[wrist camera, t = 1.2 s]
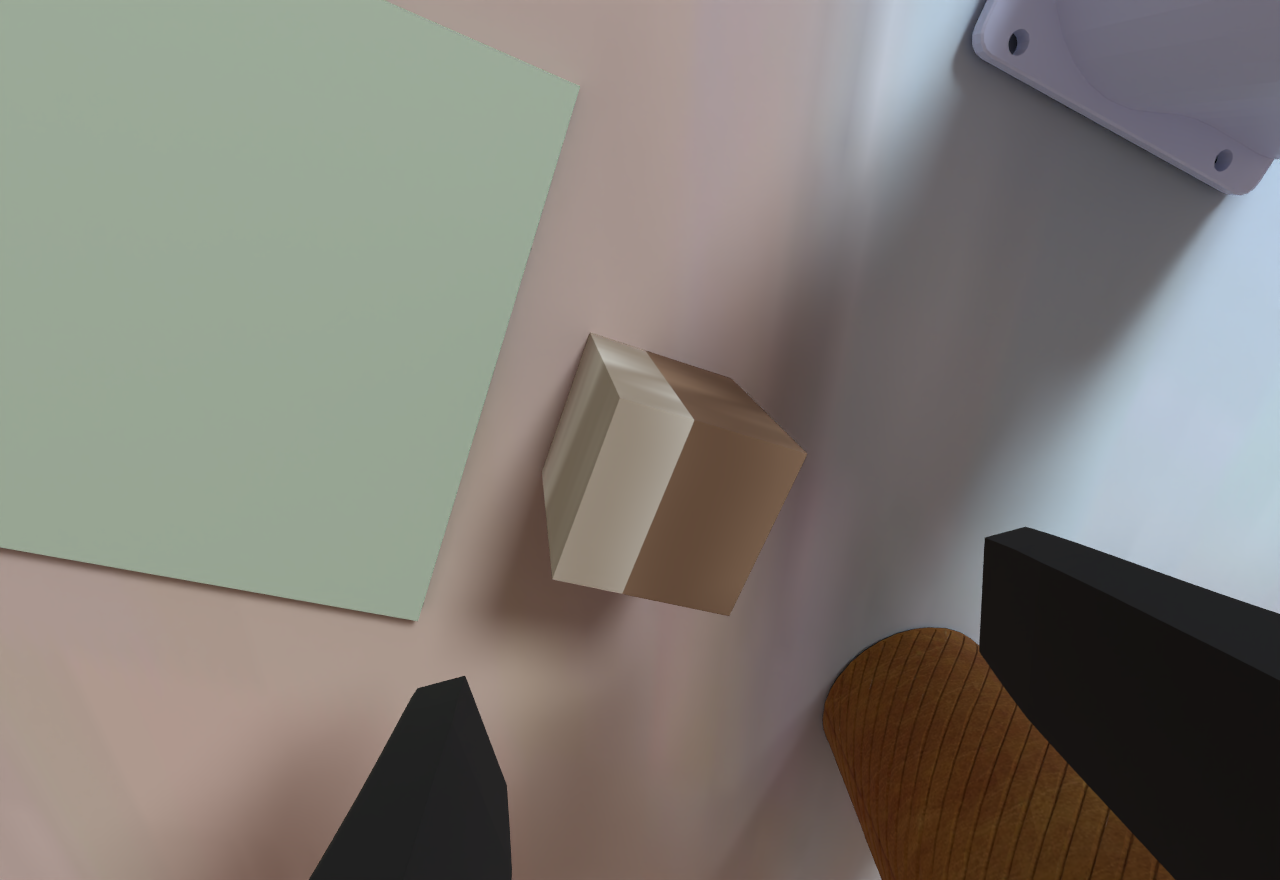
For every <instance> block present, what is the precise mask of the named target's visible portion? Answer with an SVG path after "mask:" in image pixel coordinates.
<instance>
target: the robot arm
mask: <svg viewBox="0 0 1280 880" xmlns="http://www.w3.org/2000/svg"><path fill="white" fill-rule="evenodd" d="M1013 33H1014V34H1015V36H1016V37H1017V43H1018V44H1017V48H1016V51H1015V52H1014V53H1013V55H1012V54H1011V52H1010V51H1009V47H1008V43H1009V39H1010V37H1011V35H1012V34H1013ZM972 46H973V48H974V51H975V53H976V54H977V55H978V56H979V57H980V58H981V59H983V60H984V61H986V62H988V63H990V64H992V65H993V66H995V67H997V68H999V69H1001V70H1002V71H1004V72H1006V73H1008V74H1010V75H1011V76H1013V77H1015V78H1017V79H1019V80H1020V81H1022V82H1024V83H1026V84H1028V85H1029V86H1031V87H1033V88H1035V89H1037V90H1038V91H1040V92H1042V93H1044V94H1046V95H1047V96H1049V97H1051V98H1053V99H1055V100H1056V101H1058V102H1060V103H1062V104H1064V105H1065V106H1067V107H1069V108H1071V109H1073V110H1074V111H1076V112H1078V113H1080V114H1082V115H1083V116H1085V117H1087V118H1089V119H1091V120H1092V121H1094V122H1096V123H1098V124H1100V125H1101V126H1103V127H1105V128H1107V129H1109V130H1111V131H1112V132H1114V133H1116V134H1118V135H1120V136H1121V137H1123V138H1125V139H1127V140H1129V141H1130V142H1132V143H1134V144H1136V145H1138V146H1139V147H1141V148H1143V149H1145V150H1147V151H1148V152H1150V153H1152V154H1154V155H1156V156H1157V157H1159V158H1161V159H1163V160H1165V161H1166V162H1168V163H1170V164H1172V165H1174V166H1175V167H1177V168H1179V169H1181V170H1183V171H1184V172H1186V173H1188V174H1190V175H1192V176H1193V177H1195V178H1197V179H1199V180H1201V181H1202V182H1204V183H1206V184H1208V185H1210V186H1211V187H1213V188H1215V189H1217V190H1219V191H1220V192H1222V193H1224V194H1229V195H1243V194H1247V193H1249V192H1250V191H1251V190H1253V189H1254V188H1255V187H1256V186H1257V185H1258V183H1259V182H1260V181H1261V179H1262V178H1263V176H1264V174H1265V173H1266V171H1267V170H1268V168H1269V166H1270V165H1271V163H1272V162H1273V160H1274V159H1280V0H987V1H986V4H985V6H984V8H983V10H982V12H981V14H980V16H979V19H978V21H977V23H976V25H975V28H974V31H973V35H972ZM1217 155H1218V159H1217V162H1216V164H1215V166H1214V162H1215V159H1216V157H1217ZM979 652H980V654H981V655H982V656H983V658H984V659H985V661H986V662H987V664H988V665H989V667H990V668H991V669H992V671H993V672H994V674H995V675H996V677H997V678H998V679H999V681H1000V682H1001V684H1002V685H1003V687H1004V688H1005V689H1006V691H1007V692H1008V693H1009V695H1010V696H1011V697H1012V699H1013V700H1014V701H1015V703H1016V704H1017V705H1018V707H1019V708H1020V709H1021V711H1022V712H1023V713H1024V715H1025V716H1026V717H1027V719H1028V720H1029V721H1030V722H1031V723H1032V724H1033V725H1034V726H1035V728H1036V729H1037V730H1038V731H1039V732H1040V733H1041V734H1042V735H1043V737H1044V738H1045V739H1046V740H1047V741H1048V742H1049V743H1050V744H1051V745H1052V746H1053V748H1054V749H1055V750H1056V751H1057V752H1058V753H1059V754H1060V755H1061V756H1062V757H1063V759H1064V760H1065V761H1066V762H1067V763H1068V764H1069V765H1070V766H1071V767H1072V768H1073V770H1074V771H1075V772H1076V773H1077V774H1078V775H1079V776H1080V777H1081V778H1082V779H1083V780H1084V781H1085V783H1086V784H1087V785H1088V786H1089V787H1090V788H1091V789H1092V790H1093V791H1094V792H1095V793H1096V794H1097V796H1098V797H1099V798H1100V799H1101V800H1102V801H1103V802H1104V803H1105V804H1106V805H1107V806H1108V807H1109V808H1110V810H1111V811H1112V812H1113V813H1114V814H1115V815H1116V816H1117V817H1118V818H1119V819H1120V820H1121V821H1122V823H1123V824H1124V825H1125V826H1126V827H1127V828H1128V829H1129V830H1130V831H1131V832H1132V833H1133V834H1134V836H1135V837H1136V838H1137V839H1138V840H1139V841H1140V842H1141V843H1142V844H1143V845H1144V846H1145V847H1146V849H1147V850H1148V851H1149V852H1150V853H1151V854H1152V855H1153V856H1154V857H1155V858H1156V859H1157V860H1158V862H1159V863H1160V864H1161V865H1162V866H1163V867H1164V868H1165V869H1166V870H1167V871H1168V872H1169V873H1170V875H1171V876H1172V877H1173V878H1174V879H1175V880H1280V614H1278V613H1275V612H1272V611H1269V610H1266V609H1263V608H1260V607H1257V606H1254V605H1251V604H1248V603H1245V602H1242V601H1239V600H1237V599H1234V598H1231V597H1228V596H1225V595H1222V594H1219V593H1216V592H1213V591H1210V590H1208V589H1205V588H1202V587H1199V586H1196V585H1193V584H1191V583H1188V582H1185V581H1182V580H1179V579H1176V578H1174V577H1171V576H1168V575H1165V574H1162V573H1160V572H1157V571H1154V570H1151V569H1148V568H1146V567H1143V566H1140V565H1137V564H1134V563H1132V562H1129V561H1126V560H1123V559H1121V558H1118V557H1115V556H1112V555H1109V554H1107V553H1104V552H1101V551H1098V550H1095V549H1092V548H1090V547H1087V546H1084V545H1081V544H1078V543H1075V542H1072V541H1069V540H1066V539H1063V538H1060V537H1057V536H1054V535H1051V534H1048V533H1045V532H1041V531H1038V530H1035V529H1031V528H1028V527H1023V528H1019V529H1016V530H1012V531H1008V532H1004V533H1001V534H997V535H993V536H989V537H986V538H985V544H984V564H983V584H982V604H981V624H980V644H979ZM511 877H512V864H511V845H510V827H509V812H508V798H507V785H506V782H505V780H504V777H503V774H502V772H501V769H500V766H499V764H498V761H497V759H496V756H495V753H494V751H493V748H492V745H491V743H490V740H489V737H488V735H487V732H486V729H485V727H484V724H483V722H482V719H481V716H480V714H479V711H478V708H477V706H476V703H475V700H474V698H473V695H472V693H471V690H470V687H469V685H468V682H467V679H466V677H465V676H462V677H459V678H455V679H451V680H447V681H443V682H440V683H436V684H432V685H428V686H425V687H421V688H418V689H417V690H416V692H415V693H414V695H413V696H412V698H411V699H410V701H409V703H408V705H407V707H406V708H405V710H404V712H403V714H402V716H401V718H400V720H399V721H398V723H397V725H396V727H395V729H394V731H393V733H392V734H391V736H390V738H389V740H388V742H387V744H386V746H385V747H384V749H383V751H382V753H381V755H380V757H379V758H378V760H377V762H376V764H375V766H374V768H373V769H372V771H371V773H370V775H369V777H368V778H367V780H366V782H365V784H364V786H363V787H362V789H361V791H360V793H359V795H358V796H357V798H356V800H355V802H354V803H353V805H352V807H351V809H350V810H349V812H348V814H347V815H346V817H345V819H344V821H343V822H342V824H341V826H340V828H339V829H338V831H337V833H336V834H335V836H334V838H333V840H332V841H331V843H330V845H329V847H328V848H327V850H326V852H325V853H324V855H323V857H322V859H321V860H320V862H319V864H318V865H317V867H316V869H315V870H314V872H313V874H312V875H311V877H310V879H309V880H511Z"/></svg>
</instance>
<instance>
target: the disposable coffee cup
mask: <svg viewBox="0 0 1280 880" xmlns="http://www.w3.org/2000/svg"><path fill="white" fill-rule="evenodd" d="M823 728H824V732H825V735H826V737H827V740H828V742H829V744H830V747H831V749H832V752H833V754H834V757H835V760H836V762H837V765H838V767H839V770H840V773H841V775H842V777H843V780H844V783H845V785H846V788H847V790H848V793H849V796H850V798H851V801H852V803H853V806H854V809H855V811H856V814H857V816H858V819H859V822H860V824H861V827H862V829H863V832H864V835H865V838H866V841H867V843H868V846H869V848H870V851H871V853H872V856H873V859H874V861H875V864H876V866H877V869H878V871H879V874H880V876H881V879H882V880H1175V879H1174V878H1173V877H1172V876H1171V875H1170V873H1169V872H1168V871H1167V870H1166V869H1165V868H1164V867H1163V866H1162V865H1161V864H1160V863H1159V862H1158V860H1157V859H1156V858H1155V857H1154V856H1153V855H1152V854H1151V853H1150V852H1149V851H1148V850H1147V849H1146V847H1145V846H1144V845H1143V844H1142V843H1141V842H1140V841H1139V840H1138V839H1137V838H1136V837H1135V836H1134V834H1133V833H1132V832H1131V831H1130V830H1129V829H1128V828H1127V827H1126V826H1125V825H1124V824H1123V823H1122V821H1121V820H1120V819H1119V818H1118V817H1117V816H1116V815H1115V814H1114V813H1113V812H1112V811H1111V810H1110V808H1109V807H1108V806H1107V805H1106V804H1105V803H1104V802H1103V801H1102V800H1101V799H1100V798H1099V797H1098V796H1097V794H1096V793H1095V792H1094V791H1093V790H1092V789H1091V788H1090V787H1089V786H1088V785H1087V784H1086V783H1085V781H1084V780H1083V779H1082V778H1081V777H1080V776H1079V775H1078V774H1077V773H1076V772H1075V771H1074V770H1073V768H1072V767H1071V766H1070V765H1069V764H1068V763H1067V762H1066V761H1065V760H1064V759H1063V757H1062V756H1061V755H1060V754H1059V753H1058V752H1057V751H1056V750H1055V749H1054V748H1053V746H1052V745H1051V744H1050V743H1049V742H1048V741H1047V740H1046V739H1045V738H1044V737H1043V735H1042V734H1041V733H1040V732H1039V731H1038V730H1037V729H1036V728H1035V726H1034V725H1033V724H1032V723H1031V722H1030V721H1029V720H1028V719H1027V717H1026V716H1025V715H1024V713H1023V712H1022V711H1021V709H1020V708H1019V707H1018V705H1017V704H1016V703H1015V701H1014V700H1013V699H1012V697H1011V696H1010V695H1009V693H1008V692H1007V691H1006V689H1005V688H1004V687H1003V685H1002V684H1001V682H1000V681H999V679H998V678H997V677H996V675H995V674H994V672H993V671H992V669H991V668H990V667H989V665H988V664H987V662H986V661H985V659H984V658H983V656H982V655H981V654H980V652H979V645H977V644H976V643H975V642H974V641H973V640H972V639H971V638H969V637H967V636H966V635H964V634H962V633H960V632H957V631H954V630H950V629H947V628H919V629H913V630H909V631H905V632H902V633H898V634H895V635H893V636H891V637H889V638H886V639H884V640H882V641H880V642H878V643H877V644H875V645H873V646H872V647H870V648H868V649H867V650H865V651H864V652H863V653H862V654H860V655H859V656H858V657H857V658H856V659H854V660H853V661H852V662H851V663H850V664H849V665H848V666H847V668H846V669H845V670H844V671H843V672H842V673H841V675H840V676H839V677H838V678H837V680H836V681H835V683H834V685H833V686H832V688H831V689H830V692H829V694H828V697H827V699H826V702H825V707H824V714H823Z"/></svg>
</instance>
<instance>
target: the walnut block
mask: <svg viewBox="0 0 1280 880" xmlns="http://www.w3.org/2000/svg"><path fill="white" fill-rule="evenodd" d="M806 456H807V453H806V452H805V451H804V450H803V449H802V448H801V447H800V446H799V445H798V444H797V443H796V442H795V441H794V440H793V439H792V438H791V437H790V436H789V435H788V434H787V433H786V432H785V431H784V430H783V429H782V428H781V427H780V426H779V425H778V424H777V423H776V422H775V421H774V420H773V419H772V418H771V417H770V416H769V415H768V414H767V413H766V412H765V411H764V410H763V409H762V408H761V407H760V406H759V405H757V404H756V403H755V402H754V401H753V400H752V399H751V398H750V397H749V396H748V395H747V394H746V393H745V392H744V391H743V390H742V389H741V388H740V387H739V386H738V385H737V384H736V383H735V382H734V381H733V380H732V379H731V378H728V377H725V376H722V375H719V374H716V373H713V372H710V371H707V370H703V369H700V368H697V367H694V366H691V365H688V364H685V363H682V362H679V361H676V360H673V359H670V358H667V357H664V356H661V355H657V354H654V353H651V352H648V351H645V350H642V349H639V348H636V347H633V346H630V345H627V344H624V343H621V342H618V341H615V340H611V339H608V338H605V337H602V336H599V335H596V334H593V333H590V334H589V337H588V340H587V343H586V346H585V349H584V352H583V354H582V357H581V360H580V363H579V366H578V369H577V372H576V375H575V378H574V380H573V383H572V386H571V389H570V392H569V395H568V398H567V401H566V404H565V406H564V409H563V412H562V415H561V418H560V421H559V424H558V427H557V430H556V433H555V435H554V438H553V441H552V444H551V447H550V450H549V453H548V456H547V459H546V461H545V464H544V467H543V470H542V479H543V490H544V500H545V510H546V520H547V530H548V541H549V551H550V561H551V571H552V579H553V580H557V581H562V582H567V583H572V584H577V585H582V586H586V587H591V588H596V589H601V590H606V591H610V592H615V593H620V594H625V595H630V596H635V597H639V598H644V599H649V600H654V601H659V602H664V603H668V604H673V605H678V606H683V607H688V608H693V609H697V610H702V611H707V612H712V613H717V614H722V615H726V616H729V615H730V613H731V611H732V609H733V607H734V605H735V603H736V601H737V599H738V597H739V595H740V593H741V591H742V588H743V586H744V584H745V582H746V580H747V578H748V576H749V574H750V572H751V570H752V568H753V566H754V564H755V562H756V560H757V557H758V555H759V553H760V551H761V549H762V547H763V545H764V543H765V541H766V539H767V537H768V535H769V533H770V531H771V528H772V526H773V524H774V522H775V520H776V518H777V516H778V514H779V512H780V510H781V508H782V506H783V504H784V502H785V500H786V497H787V495H788V493H789V491H790V489H791V487H792V485H793V483H794V481H795V479H796V477H797V475H798V473H799V471H800V468H801V466H802V464H803V462H804V460H805V458H806Z"/></svg>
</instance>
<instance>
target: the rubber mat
mask: <svg viewBox="0 0 1280 880" xmlns="http://www.w3.org/2000/svg"><path fill="white" fill-rule="evenodd" d="M579 88H580V86H578V85H576V84H574V83H571V82H569V81H567V80H565V79H562V78H560V77H558V76H555V75H553V74H551V73H549V72H546V71H544V70H542V69H539V68H537V67H535V66H533V65H530V64H528V63H526V62H523V61H521V60H519V59H517V58H514V57H512V56H510V55H508V54H505V53H503V52H501V51H498V50H496V49H494V48H492V47H489V46H487V45H485V44H482V43H480V42H478V41H476V40H473V39H471V38H469V37H467V36H464V35H462V34H460V33H457V32H455V31H453V30H451V29H448V28H446V27H444V26H441V25H439V24H437V23H435V22H432V21H430V20H428V19H426V18H423V17H421V16H419V15H416V14H414V13H412V12H410V11H407V10H405V9H403V8H400V7H398V6H396V5H394V4H391V3H389V2H387V1H384V0H0V547H1V548H7V549H12V550H18V551H24V552H29V553H35V554H41V555H46V556H52V557H58V558H63V559H69V560H75V561H80V562H86V563H92V564H97V565H103V566H109V567H114V568H120V569H125V570H131V571H137V572H142V573H148V574H154V575H159V576H165V577H171V578H176V579H182V580H188V581H193V582H199V583H205V584H210V585H216V586H222V587H227V588H233V589H239V590H244V591H250V592H255V593H261V594H267V595H272V596H278V597H284V598H289V599H295V600H301V601H306V602H312V603H318V604H323V605H329V606H335V607H340V608H346V609H352V610H357V611H363V612H369V613H374V614H380V615H386V616H391V617H397V618H402V619H408V620H414V621H418V619H419V616H420V612H421V609H422V606H423V602H424V599H425V596H426V593H427V589H428V586H429V583H430V579H431V576H432V573H433V569H434V566H435V563H436V560H437V556H438V553H439V550H440V546H441V543H442V540H443V537H444V533H445V530H446V527H447V523H448V520H449V517H450V513H451V510H452V507H453V504H454V500H455V497H456V494H457V490H458V487H459V484H460V481H461V477H462V474H463V471H464V467H465V464H466V461H467V457H468V454H469V451H470V448H471V444H472V441H473V438H474V434H475V431H476V428H477V425H478V421H479V418H480V415H481V411H482V408H483V405H484V401H485V398H486V395H487V392H488V388H489V385H490V382H491V378H492V375H493V372H494V369H495V365H496V362H497V359H498V355H499V352H500V349H501V345H502V342H503V339H504V336H505V332H506V329H507V326H508V322H509V319H510V316H511V312H512V309H513V306H514V303H515V299H516V296H517V293H518V289H519V286H520V283H521V280H522V276H523V273H524V270H525V266H526V263H527V260H528V256H529V253H530V250H531V247H532V243H533V240H534V237H535V233H536V230H537V227H538V224H539V220H540V217H541V214H542V210H543V207H544V204H545V200H546V197H547V194H548V191H549V187H550V184H551V181H552V177H553V174H554V171H555V168H556V164H557V161H558V158H559V154H560V151H561V148H562V144H563V141H564V138H565V135H566V131H567V128H568V125H569V121H570V118H571V115H572V111H573V108H574V105H575V102H576V98H577V95H578V92H579Z"/></svg>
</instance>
